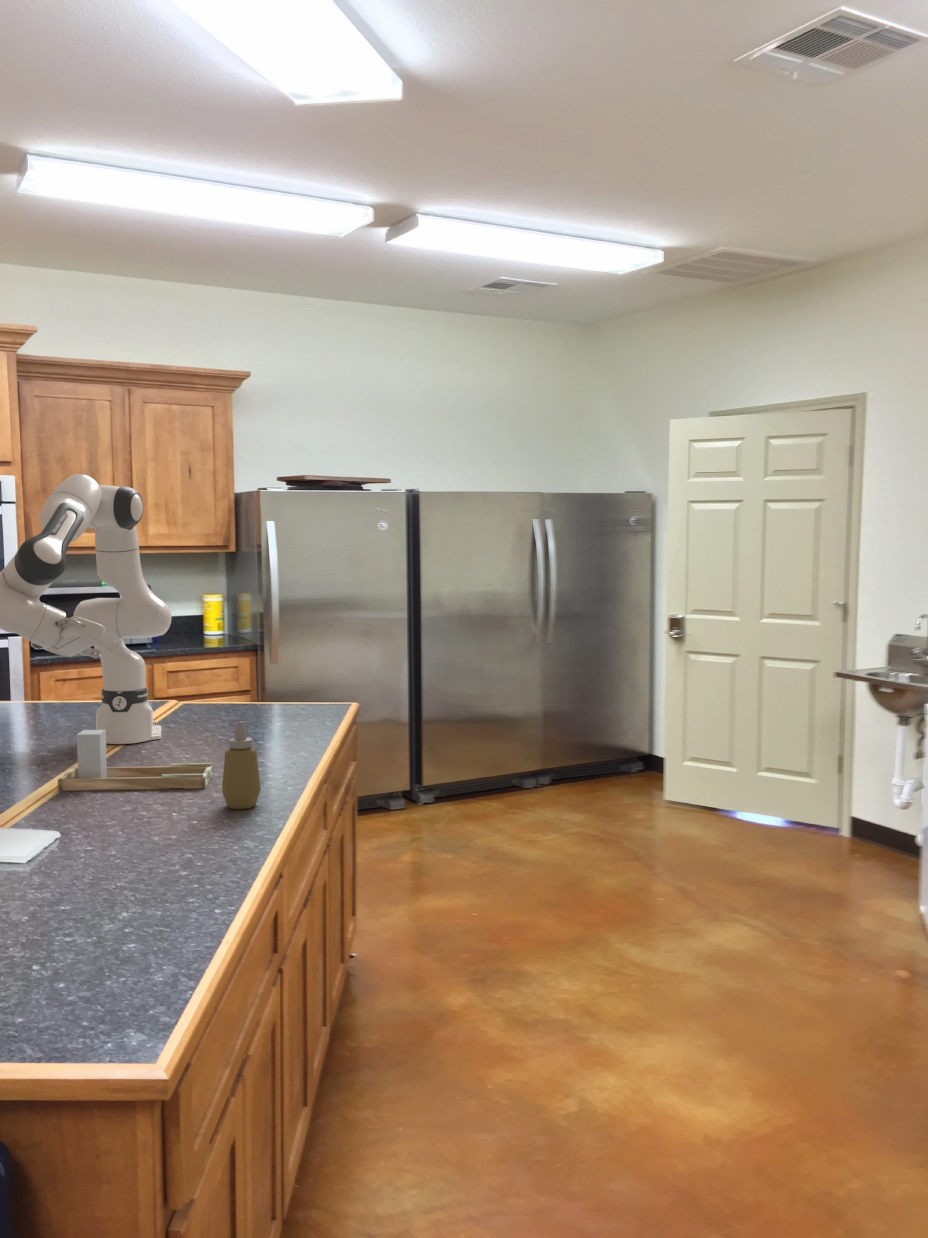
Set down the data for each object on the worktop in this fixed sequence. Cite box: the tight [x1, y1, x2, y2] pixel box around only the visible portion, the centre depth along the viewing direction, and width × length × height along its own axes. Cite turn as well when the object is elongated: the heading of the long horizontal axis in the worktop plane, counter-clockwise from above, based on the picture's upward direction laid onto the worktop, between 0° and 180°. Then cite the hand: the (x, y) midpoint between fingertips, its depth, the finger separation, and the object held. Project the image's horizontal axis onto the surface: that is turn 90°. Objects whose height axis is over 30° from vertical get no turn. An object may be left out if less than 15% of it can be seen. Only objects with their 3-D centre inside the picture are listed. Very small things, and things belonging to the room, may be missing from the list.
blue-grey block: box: [76, 729, 108, 778], centre depth 226 cm, size 5×5×12 cm
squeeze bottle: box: [221, 721, 262, 810], centre depth 209 cm, size 8×8×18 cm
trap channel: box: [57, 762, 214, 792], centre depth 228 cm, size 11×32×3 cm, turn 95°
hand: (107, 651), depth 227 cm, fingers open, 8 cm apart
